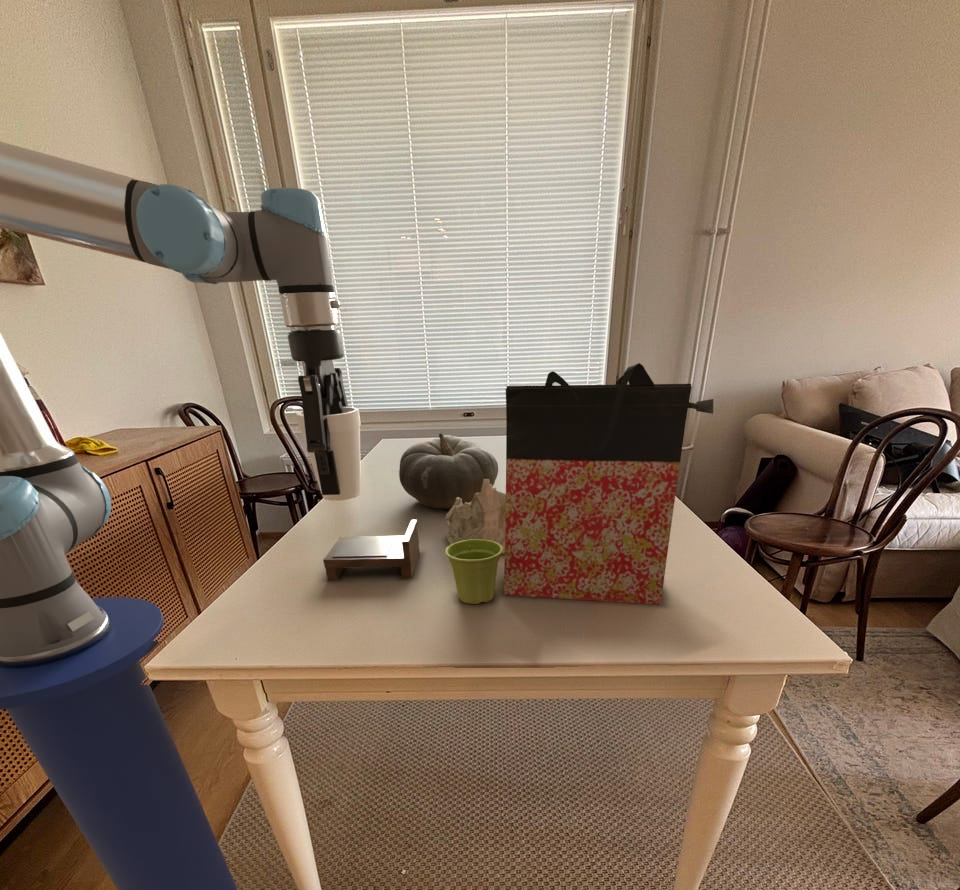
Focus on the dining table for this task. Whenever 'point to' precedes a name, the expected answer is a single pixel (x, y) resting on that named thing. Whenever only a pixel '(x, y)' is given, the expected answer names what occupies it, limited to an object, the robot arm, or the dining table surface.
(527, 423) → the gift bag
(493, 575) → the plant pot
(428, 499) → the gourd
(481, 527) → the ceramic cottage
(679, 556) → the dining table surface
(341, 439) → the foam cup
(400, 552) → the shelf
